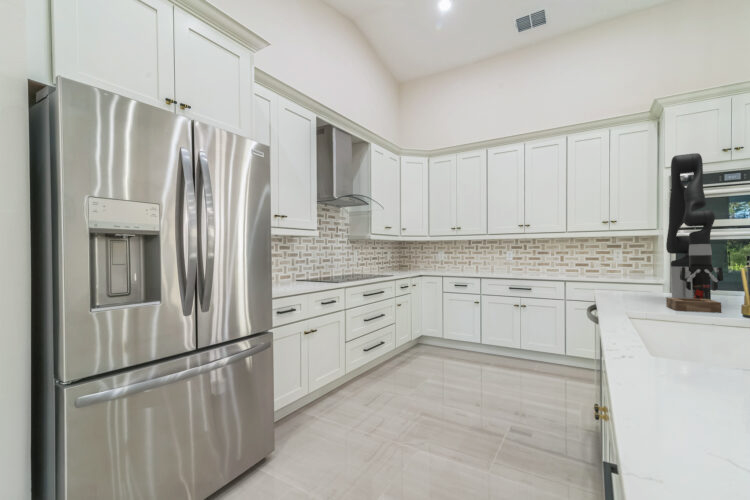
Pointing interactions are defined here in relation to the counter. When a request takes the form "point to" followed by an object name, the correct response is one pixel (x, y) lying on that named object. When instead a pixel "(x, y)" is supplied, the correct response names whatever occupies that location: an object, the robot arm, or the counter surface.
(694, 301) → the socket block
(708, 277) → the deodorant
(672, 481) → the counter surface
